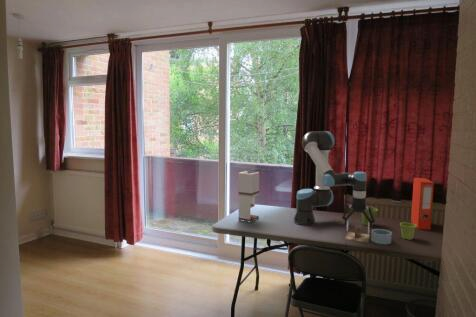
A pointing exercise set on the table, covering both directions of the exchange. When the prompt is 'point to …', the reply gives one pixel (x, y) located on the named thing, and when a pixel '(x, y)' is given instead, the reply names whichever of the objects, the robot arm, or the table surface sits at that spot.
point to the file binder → (422, 203)
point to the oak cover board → (352, 237)
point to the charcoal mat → (359, 241)
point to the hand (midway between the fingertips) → (357, 231)
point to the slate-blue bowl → (381, 236)
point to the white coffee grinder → (247, 194)
